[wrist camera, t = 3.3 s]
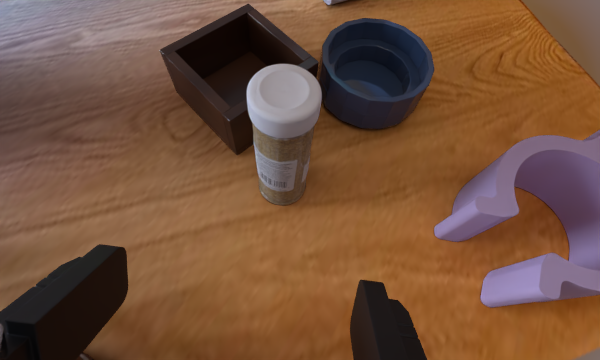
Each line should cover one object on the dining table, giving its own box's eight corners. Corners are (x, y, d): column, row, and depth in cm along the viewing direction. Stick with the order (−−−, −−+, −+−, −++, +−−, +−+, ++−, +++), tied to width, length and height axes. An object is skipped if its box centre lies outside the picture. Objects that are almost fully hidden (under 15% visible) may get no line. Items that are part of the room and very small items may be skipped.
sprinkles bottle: (314, 183, 32) (338, 88, 19) (283, 216, 30) (287, 134, 18) (280, 155, 33) (282, 48, 21) (247, 185, 31) (229, 89, 19)
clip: (559, 133, 36) (618, 91, 30) (655, 231, 32) (748, 205, 25) (416, 208, 31) (451, 176, 25) (506, 336, 27) (576, 337, 20)
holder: (176, 92, 35) (159, 49, 30) (252, 48, 39) (248, 3, 34) (237, 156, 32) (229, 121, 27) (313, 101, 36) (319, 62, 31)
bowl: (296, 85, 37) (299, 50, 32) (362, 41, 40) (373, 4, 36) (369, 150, 34) (384, 122, 29) (434, 95, 37) (455, 62, 33)
